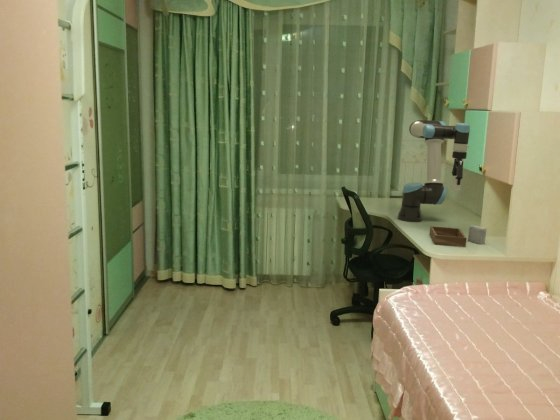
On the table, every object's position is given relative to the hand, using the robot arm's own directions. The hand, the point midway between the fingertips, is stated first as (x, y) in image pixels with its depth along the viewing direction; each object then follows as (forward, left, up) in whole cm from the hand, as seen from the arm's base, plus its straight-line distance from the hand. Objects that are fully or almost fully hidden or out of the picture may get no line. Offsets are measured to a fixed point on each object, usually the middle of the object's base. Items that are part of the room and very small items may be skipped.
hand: (455, 188), depth 302 cm
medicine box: (+14, +12, -27) cm, 33 cm away
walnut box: (+16, -4, -27) cm, 31 cm away
